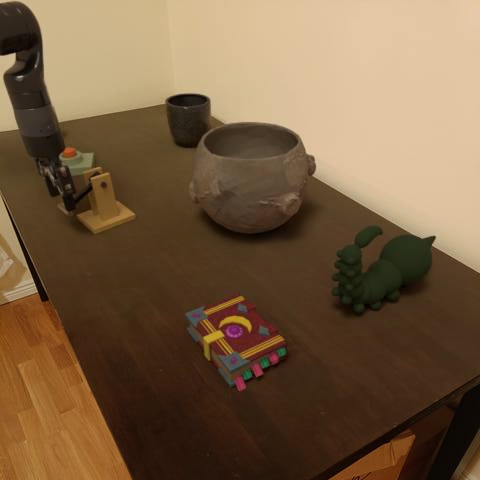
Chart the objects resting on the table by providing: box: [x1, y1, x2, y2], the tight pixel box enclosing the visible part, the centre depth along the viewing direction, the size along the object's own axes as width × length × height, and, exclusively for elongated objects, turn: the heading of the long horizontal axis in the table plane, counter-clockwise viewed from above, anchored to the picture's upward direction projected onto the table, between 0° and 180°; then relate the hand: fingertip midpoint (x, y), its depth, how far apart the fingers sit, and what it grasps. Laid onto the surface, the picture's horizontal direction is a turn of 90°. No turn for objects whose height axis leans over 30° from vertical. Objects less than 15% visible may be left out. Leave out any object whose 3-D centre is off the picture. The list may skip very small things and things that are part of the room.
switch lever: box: [57, 171, 101, 218], centre depth 98 cm, size 12×5×2 cm, turn 130°
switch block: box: [59, 150, 96, 177], centre depth 124 cm, size 12×10×4 cm
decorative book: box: [184, 293, 288, 392], centre depth 72 cm, size 11×16×5 cm
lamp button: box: [62, 147, 76, 158], centre depth 123 cm, size 4×4×2 cm
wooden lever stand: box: [76, 166, 137, 235], centre depth 101 cm, size 11×9×12 cm
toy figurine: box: [330, 224, 437, 314], centre depth 78 cm, size 9×19×25 cm
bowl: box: [188, 121, 317, 235], centre depth 97 cm, size 27×29×20 cm
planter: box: [164, 92, 212, 148], centre depth 135 cm, size 14×14×13 cm
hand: (63, 202), depth 96 cm, fingers open, 8 cm apart
